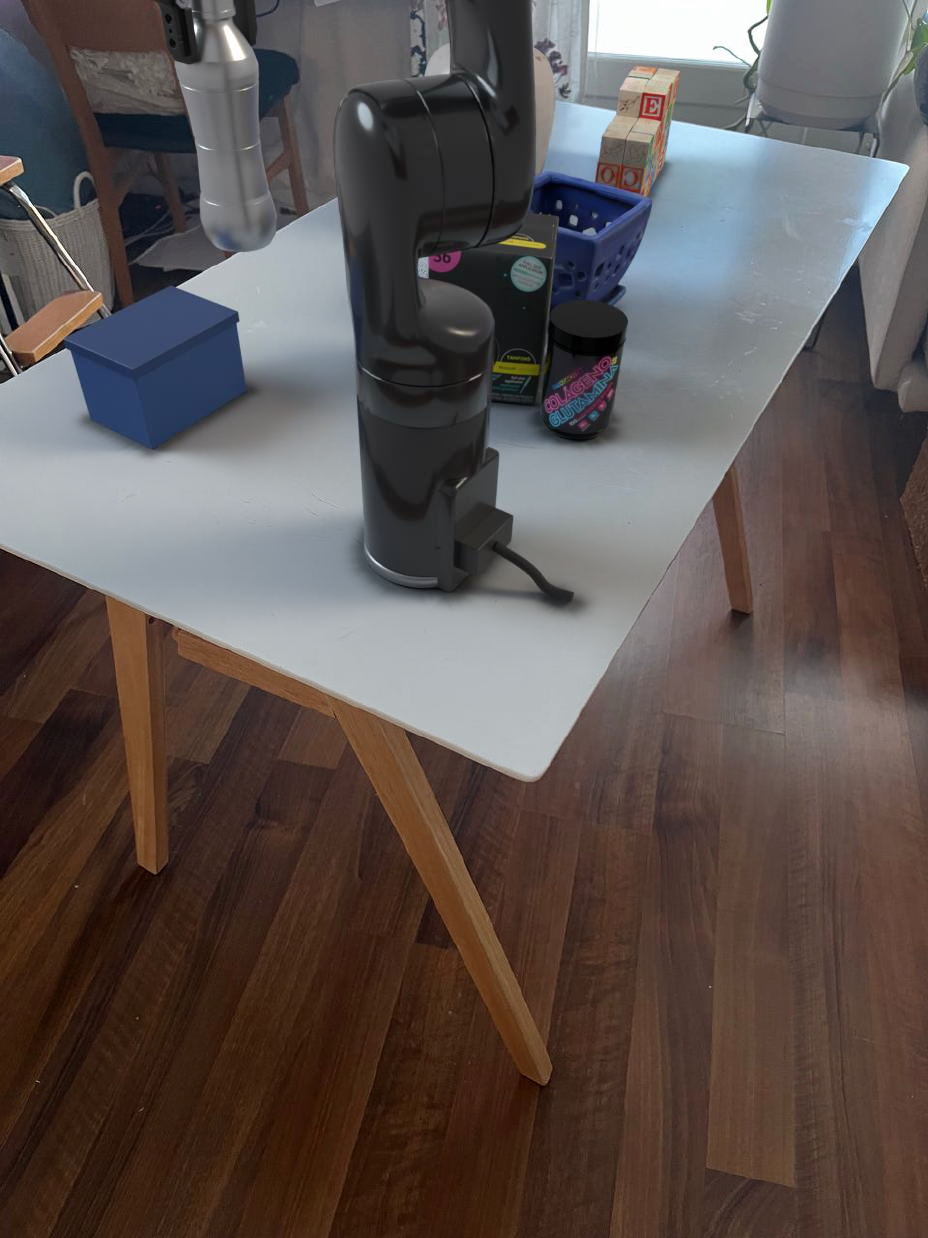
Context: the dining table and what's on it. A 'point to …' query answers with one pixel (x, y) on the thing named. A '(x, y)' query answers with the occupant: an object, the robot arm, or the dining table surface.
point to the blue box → (159, 365)
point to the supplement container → (582, 368)
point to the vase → (543, 96)
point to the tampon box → (511, 300)
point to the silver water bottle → (227, 131)
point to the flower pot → (586, 259)
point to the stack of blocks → (638, 131)
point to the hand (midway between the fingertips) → (215, 52)
